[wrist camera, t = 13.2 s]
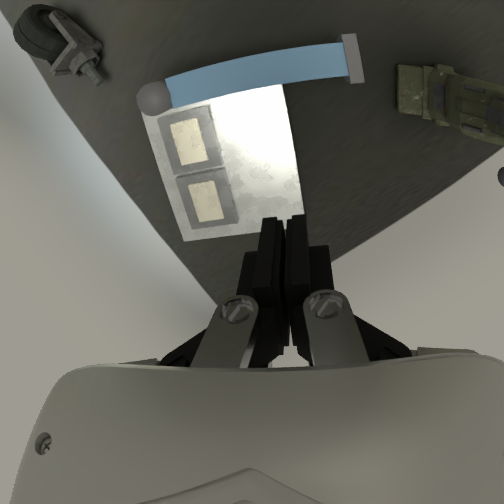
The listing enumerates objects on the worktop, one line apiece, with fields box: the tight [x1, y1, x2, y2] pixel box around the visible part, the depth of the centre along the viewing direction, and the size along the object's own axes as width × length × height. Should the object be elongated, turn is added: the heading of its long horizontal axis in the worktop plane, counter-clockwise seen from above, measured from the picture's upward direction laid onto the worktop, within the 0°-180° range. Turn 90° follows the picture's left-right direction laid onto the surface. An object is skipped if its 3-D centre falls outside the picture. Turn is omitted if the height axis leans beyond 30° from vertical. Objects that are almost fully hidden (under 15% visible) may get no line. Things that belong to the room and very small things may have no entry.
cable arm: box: [137, 33, 365, 116], centre depth 25 cm, size 20×4×4 cm, turn 103°
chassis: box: [136, 84, 305, 241], centre depth 35 cm, size 20×16×5 cm
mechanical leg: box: [396, 64, 504, 186], centre depth 17 cm, size 14×7×30 cm, turn 95°
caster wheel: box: [13, 4, 103, 86], centre depth 25 cm, size 6×10×15 cm
